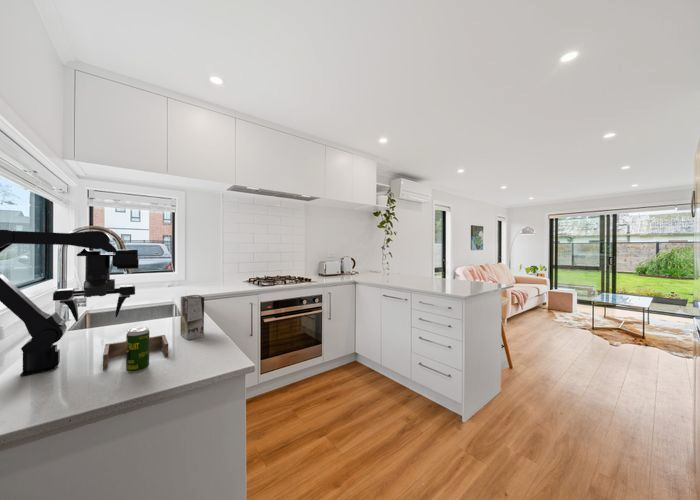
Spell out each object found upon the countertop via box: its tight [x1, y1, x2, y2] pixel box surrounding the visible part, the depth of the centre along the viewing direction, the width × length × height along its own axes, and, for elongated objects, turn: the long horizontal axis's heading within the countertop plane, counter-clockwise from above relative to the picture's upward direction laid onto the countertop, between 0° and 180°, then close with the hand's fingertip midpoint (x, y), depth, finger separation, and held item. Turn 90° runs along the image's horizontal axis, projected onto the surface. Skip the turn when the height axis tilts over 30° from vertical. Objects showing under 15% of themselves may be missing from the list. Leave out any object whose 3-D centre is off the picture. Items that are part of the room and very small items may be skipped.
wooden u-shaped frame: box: [102, 334, 169, 371], centre depth 88 cm, size 16×11×4 cm
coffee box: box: [179, 294, 205, 341], centre depth 110 cm, size 9×6×16 cm
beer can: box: [125, 326, 151, 374], centre depth 79 cm, size 5×5×12 cm
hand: (97, 318), depth 86 cm, fingers open, 9 cm apart
